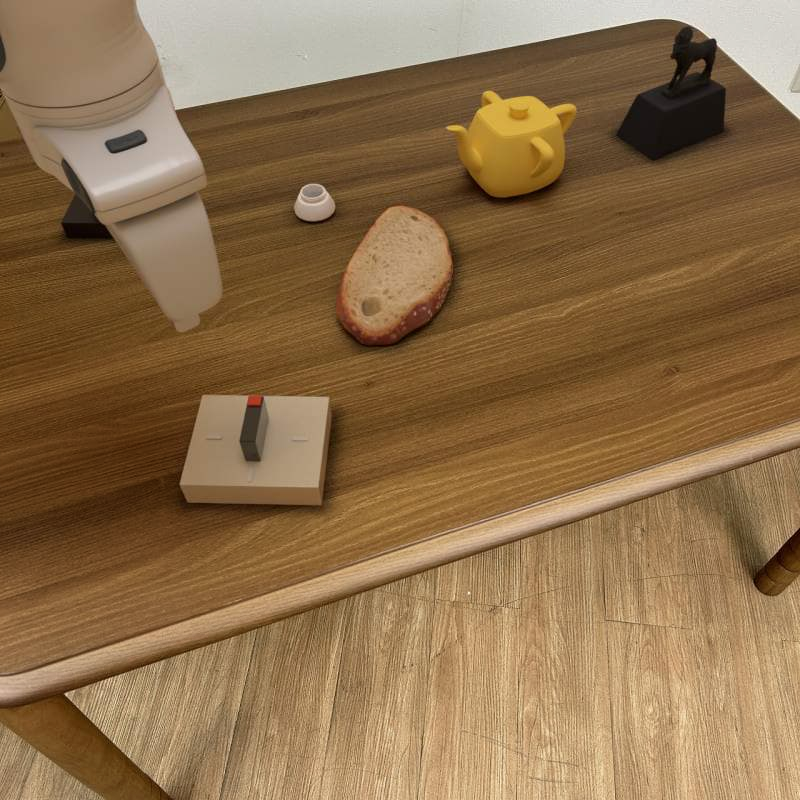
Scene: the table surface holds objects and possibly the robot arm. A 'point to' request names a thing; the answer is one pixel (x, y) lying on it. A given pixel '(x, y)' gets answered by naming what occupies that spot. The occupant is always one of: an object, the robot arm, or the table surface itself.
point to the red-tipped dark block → (254, 428)
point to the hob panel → (281, 457)
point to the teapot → (514, 144)
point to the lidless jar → (314, 203)
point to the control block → (83, 222)
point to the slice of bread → (395, 277)
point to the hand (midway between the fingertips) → (160, 286)
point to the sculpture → (678, 104)
